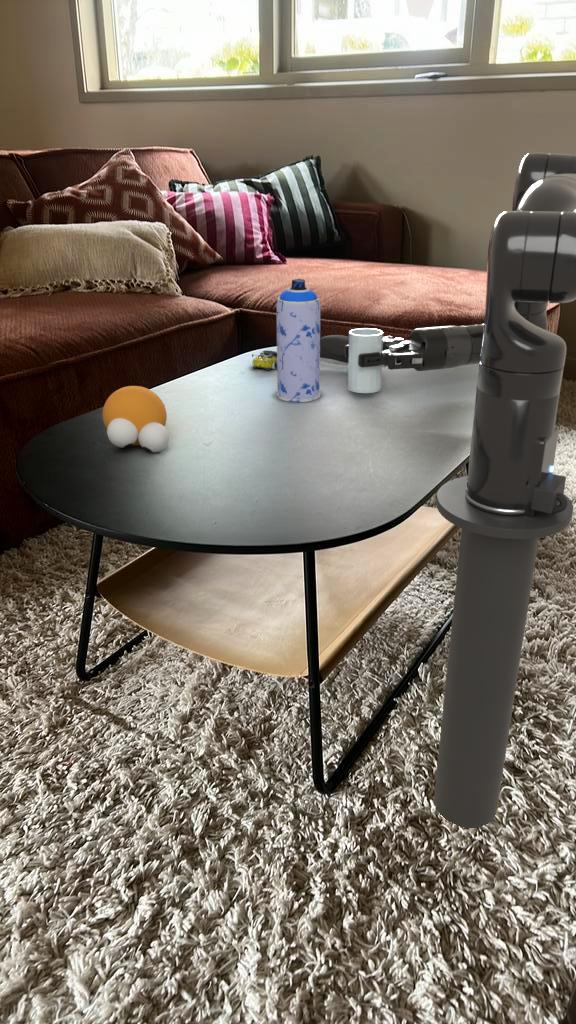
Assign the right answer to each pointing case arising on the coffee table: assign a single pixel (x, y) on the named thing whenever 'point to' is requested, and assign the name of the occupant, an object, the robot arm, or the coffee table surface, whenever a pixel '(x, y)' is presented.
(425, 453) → the coffee table surface
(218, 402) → the coffee table surface
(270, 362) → the toy car
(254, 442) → the coffee table surface
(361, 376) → the plastic cup
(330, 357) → the figurine
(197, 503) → the coffee table surface
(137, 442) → the toy
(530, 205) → the robot arm
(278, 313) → the aerosol can
